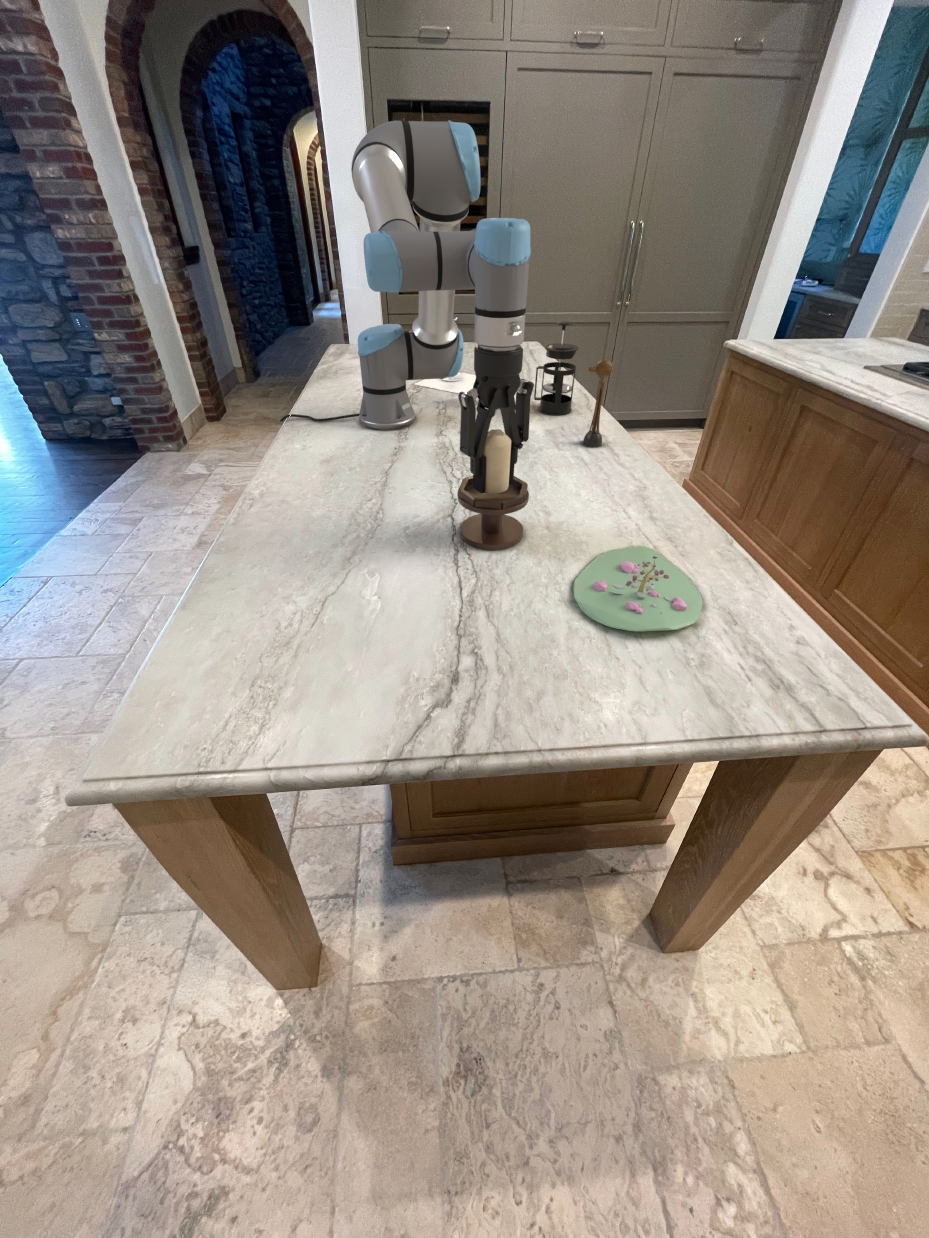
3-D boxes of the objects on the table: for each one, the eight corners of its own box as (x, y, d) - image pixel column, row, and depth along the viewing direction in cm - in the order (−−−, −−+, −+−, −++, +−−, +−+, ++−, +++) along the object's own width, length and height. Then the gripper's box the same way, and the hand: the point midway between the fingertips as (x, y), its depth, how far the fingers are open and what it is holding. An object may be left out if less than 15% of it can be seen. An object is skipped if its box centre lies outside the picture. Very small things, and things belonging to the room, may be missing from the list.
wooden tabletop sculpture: (581, 447, 135) (593, 362, 122) (576, 440, 139) (588, 357, 126) (604, 447, 135) (618, 362, 123) (599, 440, 139) (612, 356, 126)
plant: (565, 546, 99) (572, 501, 93) (679, 550, 98) (692, 506, 92) (578, 635, 80) (587, 586, 74) (719, 641, 79) (739, 593, 73)
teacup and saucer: (469, 378, 181) (469, 365, 178) (457, 384, 176) (456, 370, 173) (448, 374, 185) (448, 361, 182) (435, 379, 179) (434, 366, 177)
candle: (506, 495, 94) (509, 439, 88) (475, 492, 95) (476, 436, 88) (510, 481, 98) (513, 427, 92) (481, 479, 99) (482, 425, 93)
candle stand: (451, 547, 99) (450, 499, 92) (464, 514, 108) (464, 468, 102) (521, 555, 97) (525, 506, 90) (528, 520, 107) (532, 474, 100)
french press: (571, 405, 160) (582, 318, 145) (575, 415, 153) (586, 325, 138) (532, 404, 161) (539, 318, 146) (533, 415, 153) (541, 325, 139)
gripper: (462, 359, 75) (462, 508, 90) (561, 341, 83) (546, 480, 98) (434, 348, 80) (438, 491, 95) (530, 332, 88) (520, 466, 103)
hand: (493, 485), depth 96 cm, fingers closed on candle, 5 cm apart
